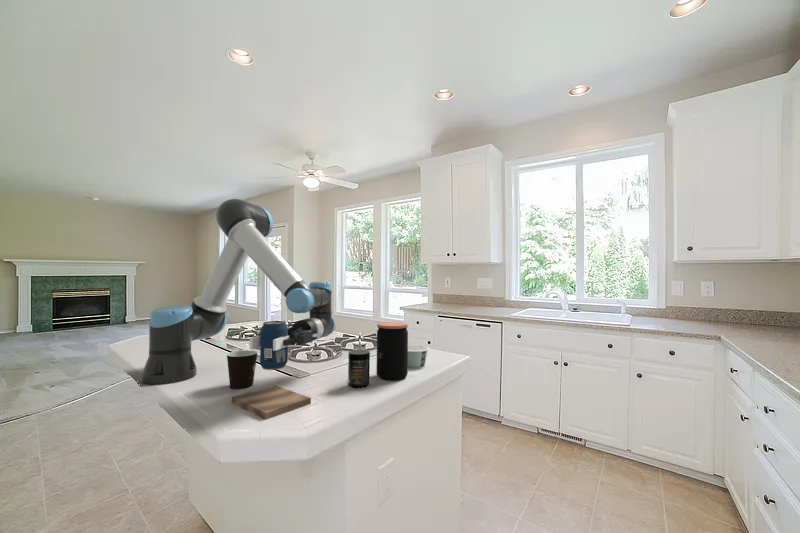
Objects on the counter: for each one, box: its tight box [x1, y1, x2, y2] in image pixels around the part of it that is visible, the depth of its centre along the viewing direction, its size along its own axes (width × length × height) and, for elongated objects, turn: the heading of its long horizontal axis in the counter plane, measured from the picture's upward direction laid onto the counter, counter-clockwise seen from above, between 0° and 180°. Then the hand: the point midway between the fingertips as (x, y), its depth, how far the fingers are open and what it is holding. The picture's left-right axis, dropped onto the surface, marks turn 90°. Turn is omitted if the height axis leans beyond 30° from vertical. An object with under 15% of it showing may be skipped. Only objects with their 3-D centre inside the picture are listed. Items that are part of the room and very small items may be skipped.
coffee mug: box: [226, 349, 258, 390], centre depth 106 cm, size 12×9×10 cm
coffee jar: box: [376, 321, 409, 382], centre depth 116 cm, size 11×11×18 cm
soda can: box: [259, 320, 289, 371], centre depth 91 cm, size 7×7×12 cm
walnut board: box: [230, 384, 312, 420], centre depth 91 cm, size 17×13×2 cm
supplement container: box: [347, 349, 371, 390], centre depth 106 cm, size 7×7×10 cm
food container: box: [408, 344, 430, 369], centre depth 133 cm, size 12×12×6 cm
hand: (262, 344), depth 86 cm, fingers closed on soda can, 6 cm apart
